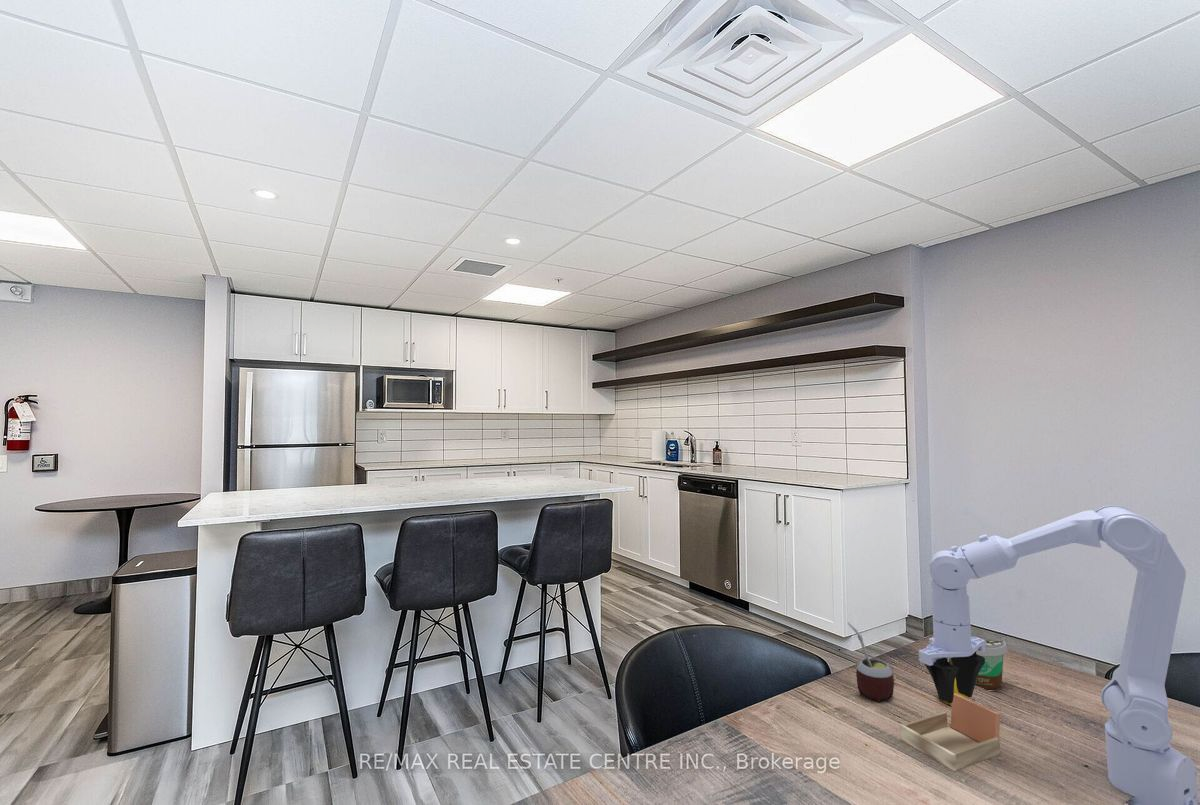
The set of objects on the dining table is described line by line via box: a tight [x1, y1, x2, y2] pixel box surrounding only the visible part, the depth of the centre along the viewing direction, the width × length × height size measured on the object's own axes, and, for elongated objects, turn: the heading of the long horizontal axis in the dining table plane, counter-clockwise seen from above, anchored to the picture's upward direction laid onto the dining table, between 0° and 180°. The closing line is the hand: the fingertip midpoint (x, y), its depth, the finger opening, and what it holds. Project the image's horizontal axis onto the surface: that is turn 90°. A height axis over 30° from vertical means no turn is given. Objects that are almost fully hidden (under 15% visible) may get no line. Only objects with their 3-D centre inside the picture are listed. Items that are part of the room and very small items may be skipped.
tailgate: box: [950, 693, 1001, 743], centre depth 99 cm, size 1×8×6 cm, turn 21°
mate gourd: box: [847, 622, 895, 703], centre depth 116 cm, size 8×8×15 cm
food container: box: [948, 637, 1008, 691], centre depth 120 cm, size 12×6×10 cm, turn 73°
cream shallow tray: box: [899, 710, 1001, 772], centre depth 96 cm, size 10×11×4 cm
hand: (955, 697), depth 98 cm, fingers open, 4 cm apart
